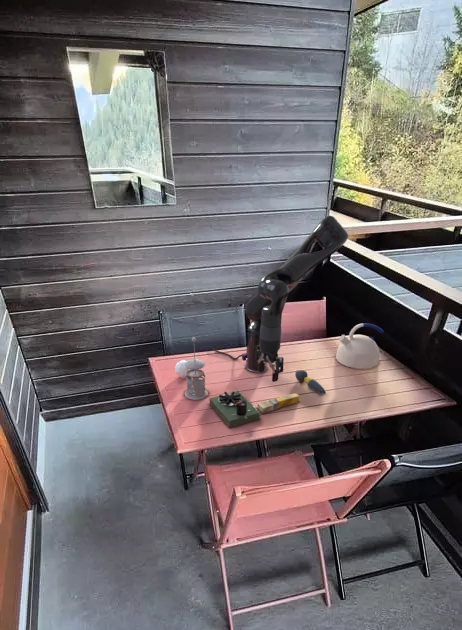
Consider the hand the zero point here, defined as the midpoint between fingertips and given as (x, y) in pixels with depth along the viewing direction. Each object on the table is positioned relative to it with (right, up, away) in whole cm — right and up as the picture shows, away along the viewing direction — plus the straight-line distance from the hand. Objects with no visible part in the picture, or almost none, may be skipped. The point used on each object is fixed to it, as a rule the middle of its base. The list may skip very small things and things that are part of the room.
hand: (267, 376), depth 166 cm
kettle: (+47, +14, +46) cm, 67 cm away
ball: (-35, +4, +30) cm, 46 cm away
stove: (-13, -13, +8) cm, 20 cm away
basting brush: (+5, -10, +11) cm, 16 cm away
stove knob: (-10, -14, +1) cm, 17 cm away
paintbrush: (+20, -1, +25) cm, 32 cm away
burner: (-14, -9, +8) cm, 19 cm away
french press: (-29, -4, +19) cm, 35 cm away
